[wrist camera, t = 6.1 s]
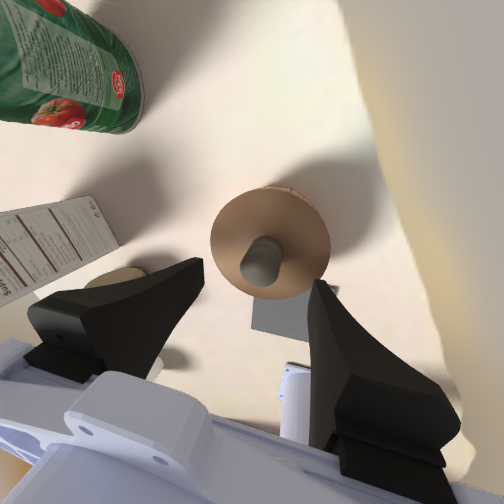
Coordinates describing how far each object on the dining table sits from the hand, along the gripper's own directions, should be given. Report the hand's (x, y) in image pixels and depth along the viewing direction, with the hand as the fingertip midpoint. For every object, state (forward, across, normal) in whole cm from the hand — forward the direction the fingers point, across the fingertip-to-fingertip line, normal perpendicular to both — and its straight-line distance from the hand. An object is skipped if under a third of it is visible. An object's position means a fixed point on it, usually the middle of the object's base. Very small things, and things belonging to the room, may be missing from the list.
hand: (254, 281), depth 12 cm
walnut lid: (+5, 0, 0) cm, 5 cm away
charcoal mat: (+9, -3, +10) cm, 14 cm away
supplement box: (+9, +25, +3) cm, 27 cm away
